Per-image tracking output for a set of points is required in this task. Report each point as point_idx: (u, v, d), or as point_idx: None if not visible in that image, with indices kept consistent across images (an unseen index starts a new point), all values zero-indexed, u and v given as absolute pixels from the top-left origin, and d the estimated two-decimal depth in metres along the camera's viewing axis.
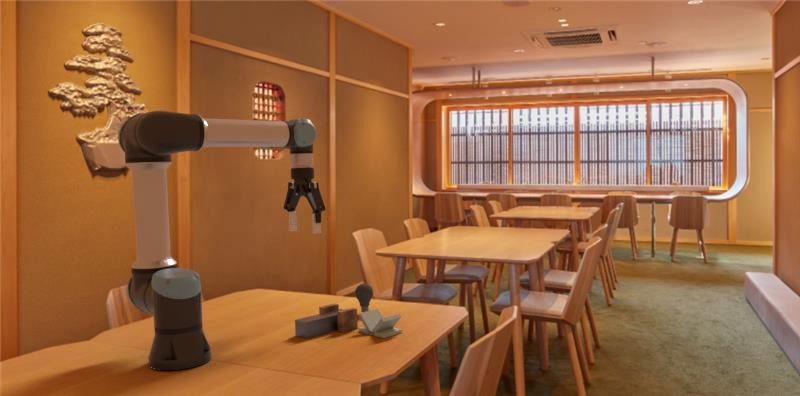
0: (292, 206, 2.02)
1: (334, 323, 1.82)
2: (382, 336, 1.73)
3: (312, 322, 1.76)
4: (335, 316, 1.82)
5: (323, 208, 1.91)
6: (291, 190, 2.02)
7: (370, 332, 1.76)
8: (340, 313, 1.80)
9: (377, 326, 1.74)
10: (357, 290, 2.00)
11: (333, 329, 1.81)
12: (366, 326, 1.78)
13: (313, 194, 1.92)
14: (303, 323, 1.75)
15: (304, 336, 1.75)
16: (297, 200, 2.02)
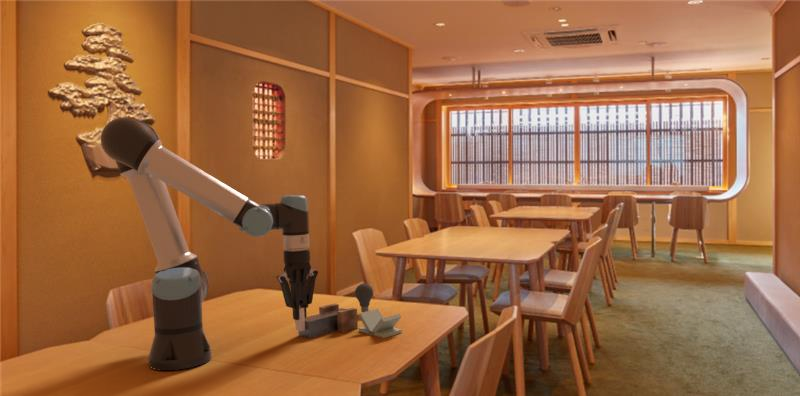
0: (300, 298, 1.76)
1: (337, 322, 1.82)
2: (382, 336, 1.73)
3: (316, 321, 1.76)
4: None
5: (289, 306, 1.73)
6: (308, 278, 1.78)
7: (370, 332, 1.76)
8: (340, 313, 1.80)
9: (377, 326, 1.74)
10: (357, 290, 2.00)
11: (336, 328, 1.82)
12: (366, 326, 1.78)
13: None
14: (307, 322, 1.75)
15: (308, 335, 1.75)
16: (301, 289, 1.75)
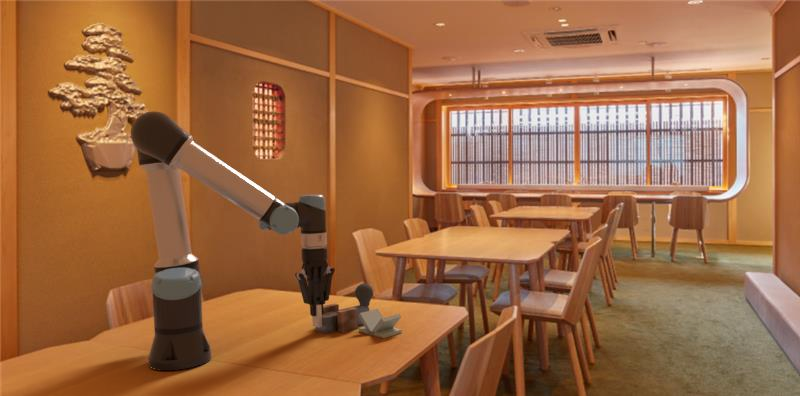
0: (317, 295, 1.80)
1: None
2: (382, 336, 1.73)
3: (332, 317, 1.80)
4: None
5: (307, 303, 1.77)
6: (325, 275, 1.83)
7: (370, 332, 1.76)
8: (340, 313, 1.80)
9: (377, 326, 1.74)
10: (357, 290, 2.00)
11: None
12: (366, 326, 1.78)
13: None
14: (323, 318, 1.79)
15: (324, 331, 1.79)
16: (318, 286, 1.80)
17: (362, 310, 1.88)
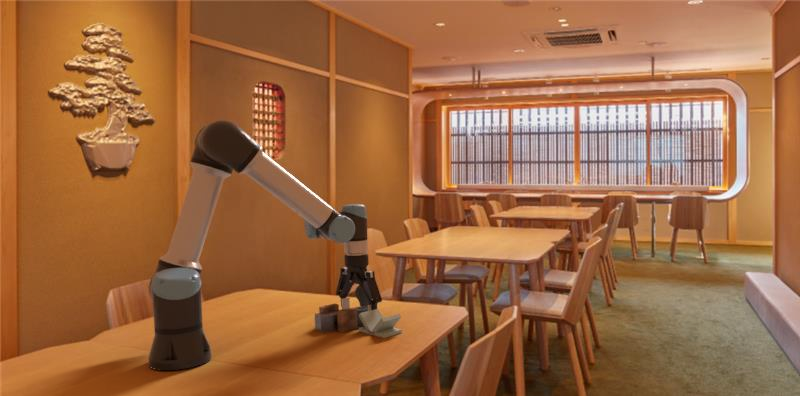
0: (345, 293, 1.95)
1: None
2: (382, 336, 1.73)
3: (328, 317, 1.81)
4: None
5: (380, 300, 1.84)
6: (344, 276, 1.95)
7: (370, 332, 1.76)
8: (340, 313, 1.80)
9: (377, 326, 1.74)
10: (357, 290, 2.00)
11: None
12: (366, 326, 1.78)
13: (369, 285, 1.85)
14: (319, 317, 1.81)
15: (320, 330, 1.81)
16: (350, 286, 1.94)
17: (364, 311, 1.87)
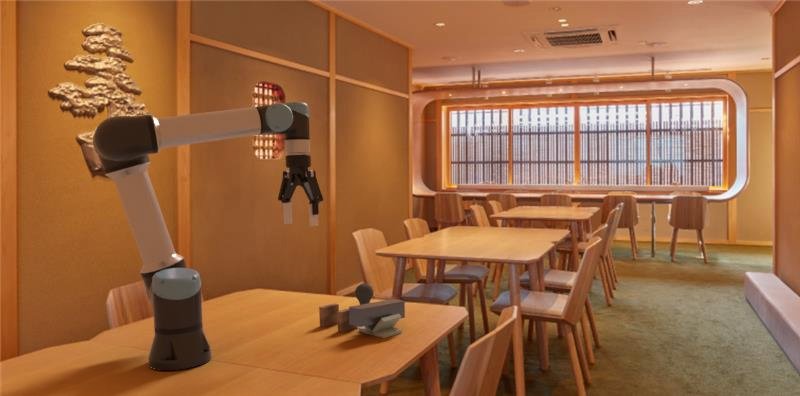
0: (287, 197, 1.88)
1: (388, 312, 1.78)
2: (382, 336, 1.73)
3: (367, 309, 1.72)
4: (389, 305, 1.78)
5: (321, 199, 1.77)
6: (286, 180, 1.87)
7: (370, 332, 1.76)
8: (340, 313, 1.80)
9: (377, 326, 1.74)
10: (357, 290, 2.00)
11: None
12: (366, 326, 1.78)
13: (310, 183, 1.77)
14: (358, 310, 1.71)
15: (358, 323, 1.71)
16: (293, 190, 1.87)
17: (397, 303, 1.80)
